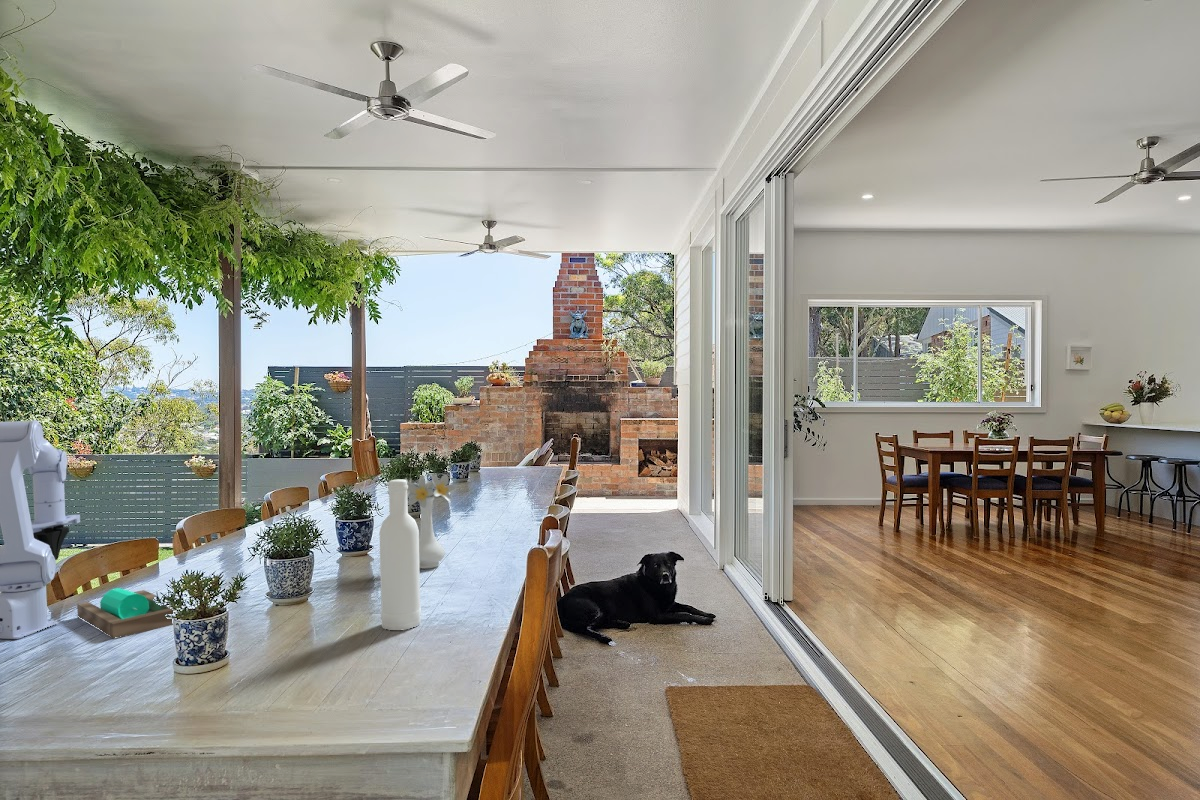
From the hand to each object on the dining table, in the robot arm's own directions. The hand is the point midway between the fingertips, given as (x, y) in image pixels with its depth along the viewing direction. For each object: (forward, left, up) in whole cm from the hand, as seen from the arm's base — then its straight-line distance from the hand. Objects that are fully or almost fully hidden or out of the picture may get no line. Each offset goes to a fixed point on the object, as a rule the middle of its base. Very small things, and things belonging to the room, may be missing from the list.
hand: (51, 560), depth 169 cm
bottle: (-4, -87, -11) cm, 88 cm away
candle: (-5, -21, -8) cm, 23 cm away
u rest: (-8, -27, -10) cm, 30 cm away
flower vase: (+42, -73, -11) cm, 85 cm away
